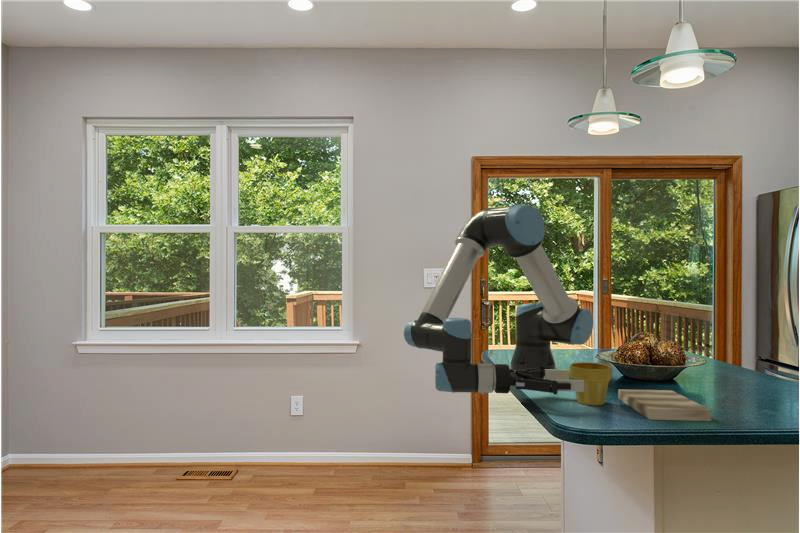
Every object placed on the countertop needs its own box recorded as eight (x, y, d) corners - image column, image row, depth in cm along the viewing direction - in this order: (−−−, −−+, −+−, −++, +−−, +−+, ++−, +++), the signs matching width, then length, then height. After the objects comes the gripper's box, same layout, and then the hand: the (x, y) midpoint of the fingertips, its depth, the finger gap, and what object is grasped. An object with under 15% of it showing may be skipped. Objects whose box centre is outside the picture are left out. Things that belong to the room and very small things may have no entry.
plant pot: (566, 404, 136) (566, 366, 136) (573, 396, 145) (573, 360, 146) (609, 409, 131) (609, 370, 132) (613, 400, 141) (613, 363, 141)
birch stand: (618, 398, 143) (618, 389, 143) (671, 399, 142) (671, 390, 142) (649, 419, 123) (649, 408, 123) (711, 420, 122) (711, 410, 122)
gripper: (488, 382, 152) (563, 384, 151) (499, 404, 127) (590, 406, 126) (488, 356, 152) (564, 357, 151) (500, 373, 127) (590, 375, 126)
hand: (576, 380), depth 138 cm, fingers open, 13 cm apart
